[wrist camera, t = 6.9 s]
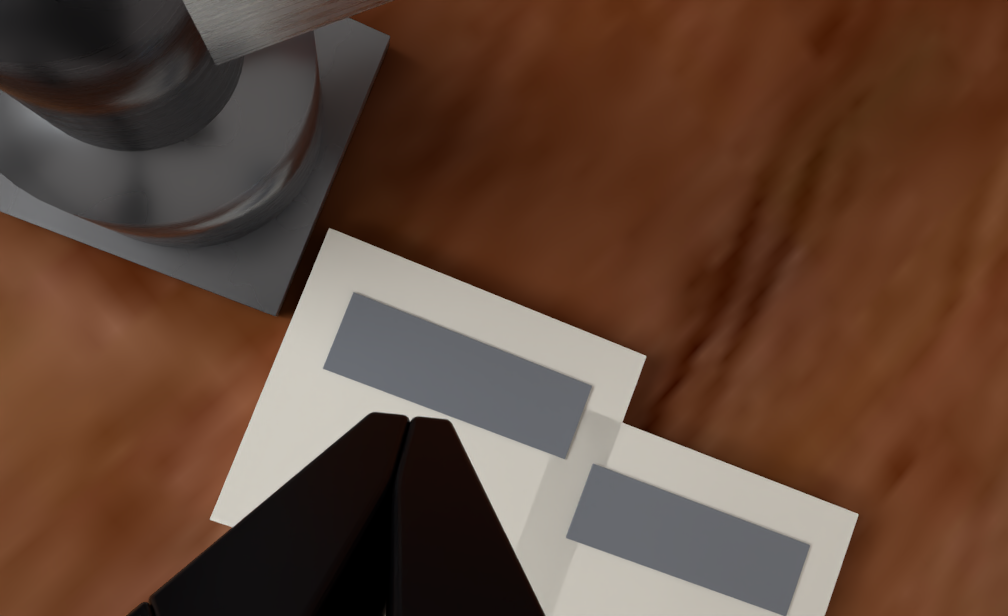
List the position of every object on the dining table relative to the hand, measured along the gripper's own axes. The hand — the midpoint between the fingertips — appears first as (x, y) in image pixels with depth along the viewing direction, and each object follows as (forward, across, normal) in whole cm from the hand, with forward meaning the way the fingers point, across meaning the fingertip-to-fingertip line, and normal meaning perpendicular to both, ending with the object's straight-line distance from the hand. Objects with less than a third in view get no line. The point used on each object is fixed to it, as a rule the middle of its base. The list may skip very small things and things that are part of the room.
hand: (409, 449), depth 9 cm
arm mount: (+9, +6, -1) cm, 11 cm away
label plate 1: (+7, 0, +5) cm, 8 cm away
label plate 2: (+6, -5, +8) cm, 11 cm away
